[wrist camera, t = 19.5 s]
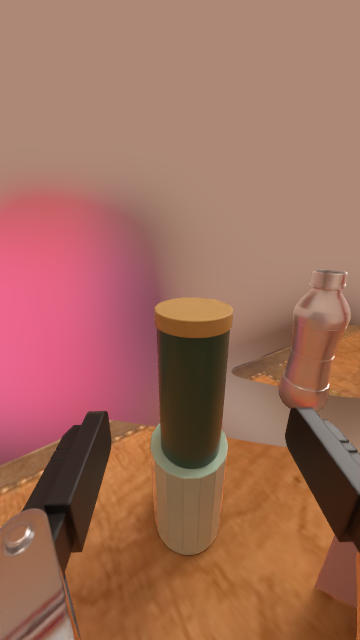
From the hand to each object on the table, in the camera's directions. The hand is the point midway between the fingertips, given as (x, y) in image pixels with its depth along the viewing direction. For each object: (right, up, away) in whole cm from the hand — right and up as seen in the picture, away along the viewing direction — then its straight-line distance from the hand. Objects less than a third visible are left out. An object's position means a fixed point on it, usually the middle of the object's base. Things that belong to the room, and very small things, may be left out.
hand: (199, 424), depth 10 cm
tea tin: (0, -5, +8) cm, 9 cm away
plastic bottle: (+17, -8, +25) cm, 31 cm away
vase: (0, -13, +11) cm, 17 cm away
